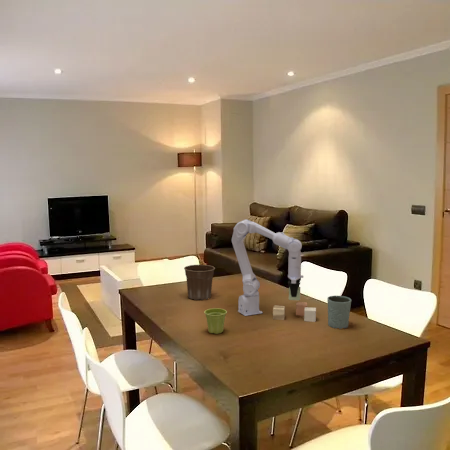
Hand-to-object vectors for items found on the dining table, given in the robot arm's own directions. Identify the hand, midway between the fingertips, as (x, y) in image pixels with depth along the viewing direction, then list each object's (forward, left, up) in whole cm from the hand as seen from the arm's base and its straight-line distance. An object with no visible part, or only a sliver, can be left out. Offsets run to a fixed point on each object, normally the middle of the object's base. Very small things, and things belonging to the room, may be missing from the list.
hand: (294, 295), depth 212 cm
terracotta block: (+5, +1, -10) cm, 11 cm away
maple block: (-8, +1, -10) cm, 13 cm away
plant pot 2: (-41, -3, -10) cm, 42 cm away
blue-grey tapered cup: (+10, -20, -10) cm, 24 cm away
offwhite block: (+4, -8, -10) cm, 13 cm away
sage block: (0, 0, -2) cm, 2 cm away
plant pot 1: (-27, +48, -10) cm, 56 cm away
